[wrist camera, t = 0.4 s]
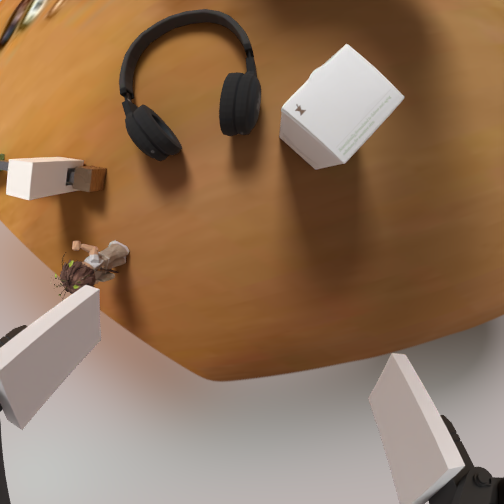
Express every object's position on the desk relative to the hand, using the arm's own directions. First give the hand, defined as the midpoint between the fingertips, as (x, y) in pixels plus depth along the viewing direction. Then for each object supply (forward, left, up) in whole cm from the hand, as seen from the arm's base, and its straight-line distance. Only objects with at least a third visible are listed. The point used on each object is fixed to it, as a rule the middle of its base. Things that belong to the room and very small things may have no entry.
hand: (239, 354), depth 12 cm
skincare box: (-14, +3, -27) cm, 31 cm away
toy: (+8, -20, -27) cm, 34 cm away
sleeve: (-2, -30, -26) cm, 40 cm away
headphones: (-17, -14, -27) cm, 35 cm away
